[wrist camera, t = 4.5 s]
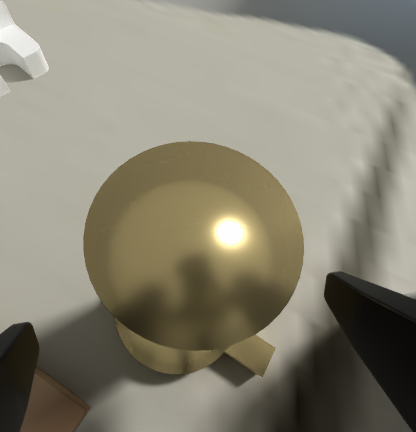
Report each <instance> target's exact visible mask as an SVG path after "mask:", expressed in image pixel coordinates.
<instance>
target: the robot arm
mask: <svg viewBox="0 0 416 432" xmlns="http://www.w3.org/2000/svg"><path fill="white" fill-rule="evenodd" d="M324 297H325V300H326V302H327V304H328V306H329V308H330V309H331V311H332V313H333V315H334V316H335V318H336V320H337V322H338V323H339V325H340V327H341V329H342V330H343V332H344V334H345V336H346V337H347V339H348V340H349V342H350V343H351V345H352V346H353V348H354V349H355V351H356V352H357V354H358V355H359V356H360V358H361V359H362V361H363V362H364V364H365V365H366V366H367V368H368V369H369V371H370V372H371V373H372V375H373V376H374V378H375V379H376V380H377V382H378V383H379V385H380V386H381V388H382V389H383V390H384V392H385V393H386V395H387V396H388V397H389V399H390V400H391V402H392V403H393V404H394V406H395V407H396V409H397V410H398V412H399V413H400V414H401V416H402V417H403V419H404V420H405V421H406V423H407V424H408V426H409V427H410V428H411V430H412V431H413V432H416V299H413V298H411V297H408V296H405V295H403V294H400V293H397V292H395V291H392V290H389V289H387V288H384V287H381V286H379V285H376V284H373V283H370V282H368V281H365V280H362V279H360V278H357V277H354V276H352V275H349V274H346V273H344V272H341V271H338V272H332V273H329V274H328V275H327V277H326V283H325V290H324ZM38 355H39V343H38V340H37V337H36V334H35V332H34V329H33V326H32V324H31V323H30V322H24V323H18V324H13V325H12V326H10V327H9V328H8V329H6V330H5V331H4V332H3V333H1V334H0V432H20V430H21V427H22V424H23V421H24V417H25V414H26V410H27V406H28V402H29V398H30V393H31V388H32V384H33V379H34V374H35V369H36V365H37V360H38Z"/></svg>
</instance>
